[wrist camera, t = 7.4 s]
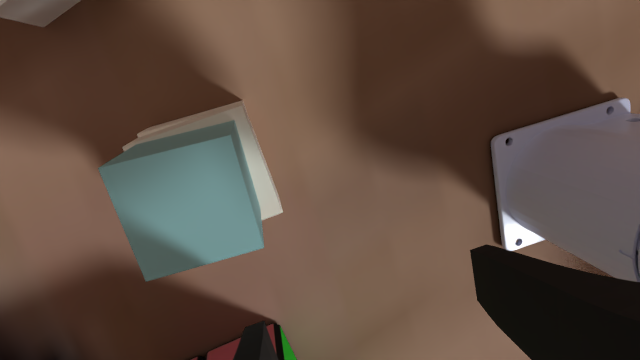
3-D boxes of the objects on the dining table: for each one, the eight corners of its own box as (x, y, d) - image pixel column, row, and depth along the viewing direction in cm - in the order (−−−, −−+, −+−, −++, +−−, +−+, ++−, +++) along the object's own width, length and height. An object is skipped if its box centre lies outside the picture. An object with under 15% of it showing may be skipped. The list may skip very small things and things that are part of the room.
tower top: (242, 101, 18) (241, 105, 15) (278, 195, 19) (283, 212, 17) (139, 136, 17) (121, 146, 15) (184, 230, 19) (175, 252, 16)
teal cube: (234, 120, 15) (230, 135, 12) (260, 208, 17) (264, 247, 13) (135, 144, 15) (97, 168, 11) (169, 233, 16) (145, 281, 12)
